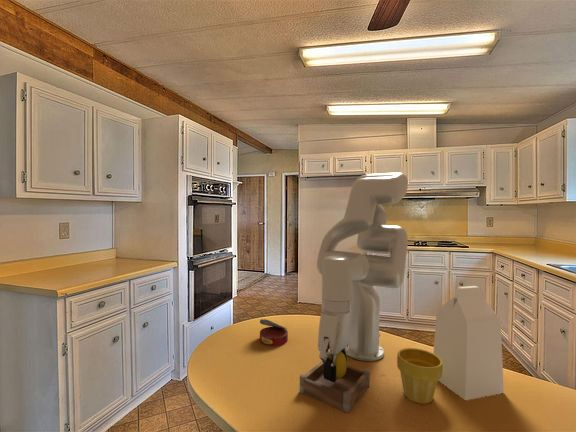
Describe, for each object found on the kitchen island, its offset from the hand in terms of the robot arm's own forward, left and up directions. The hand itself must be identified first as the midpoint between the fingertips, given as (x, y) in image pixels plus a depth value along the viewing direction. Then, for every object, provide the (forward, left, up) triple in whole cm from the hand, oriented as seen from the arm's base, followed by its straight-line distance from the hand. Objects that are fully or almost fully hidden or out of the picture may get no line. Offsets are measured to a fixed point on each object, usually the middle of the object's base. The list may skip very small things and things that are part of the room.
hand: (335, 373), depth 80 cm
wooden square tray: (0, 0, -4) cm, 4 cm away
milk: (-23, +27, -4) cm, 36 cm away
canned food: (-14, -31, -4) cm, 34 cm away
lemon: (0, 0, -2) cm, 2 cm away
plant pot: (-10, +18, -4) cm, 21 cm away
